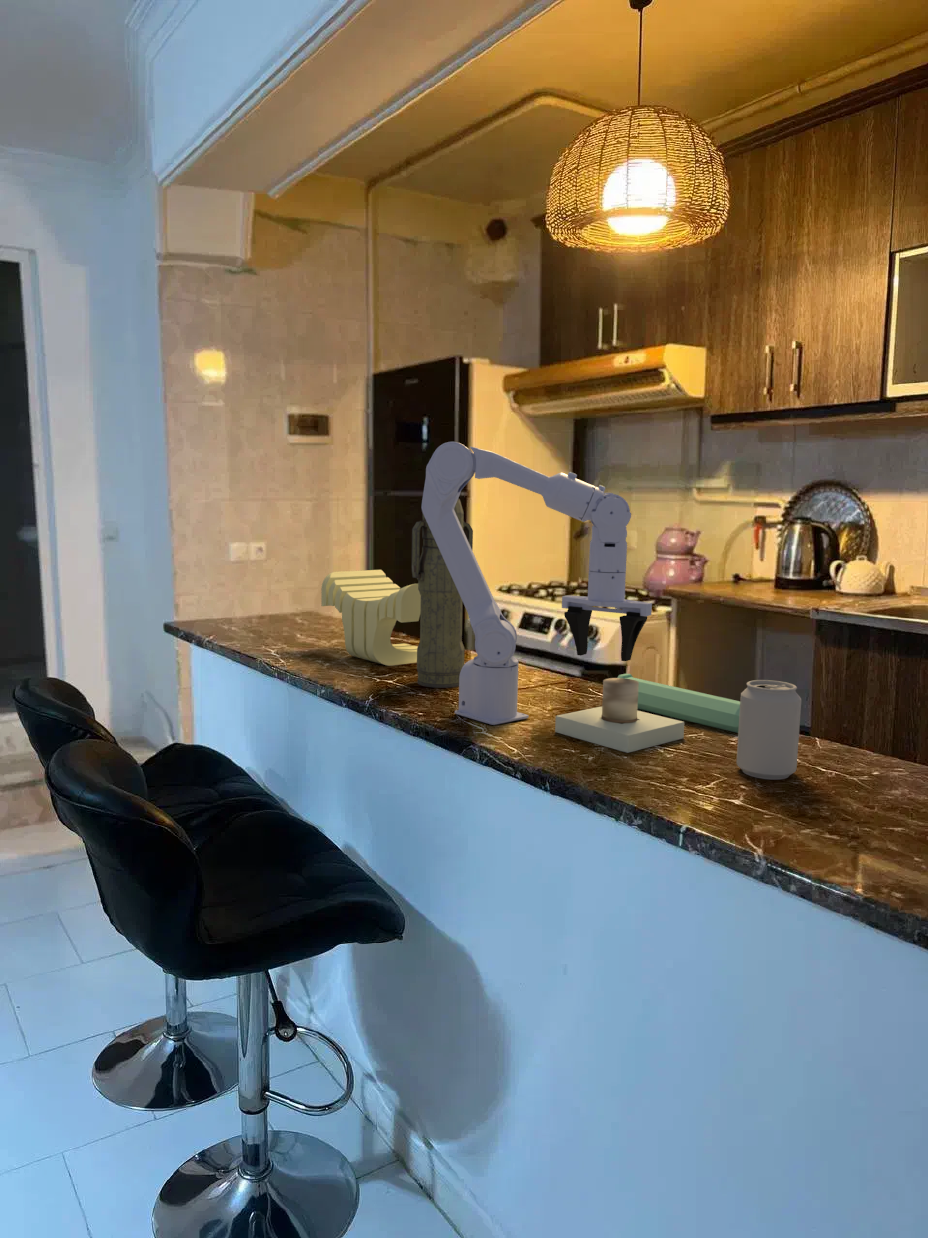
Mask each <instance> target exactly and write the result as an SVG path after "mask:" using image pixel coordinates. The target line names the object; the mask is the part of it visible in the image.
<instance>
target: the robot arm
mask: <svg viewBox="0 0 928 1238" xmlns="http://www.w3.org/2000/svg"><path fill="white" fill-rule="evenodd" d="M473 477H474V478H475V479H478V480H480V479H481V480H482V479H489V478H490V479H492V478H495V479H500V481H503V482H507V483H509V484H511V485H514V486H517V487H520V488H522V489H526V490H528V491H529V492H533V493H535V494H538V495H541V496H542V499H543V501H544V503H545V506H546V508H548V509H551V510H553V511H556V512H558V513H561V514H563V515H565V516H568V517H571V518H573V519H575V520H577V521H581V522H583V523H584V522H587V521H590V522H591V524H592V526H591V540H590V542H589V557H588V560H589V561H588V578H587V579H588V582H587V584H588V585H587V596H583V595H582V596H580V595H570V594H569V595H562V597H561V609H566V611H564V618H565V621H566V622H567V624H568V626H569V628H570V631H571V633H572V637H573V641H574V645H575V649H576V655H577V656H580V657H581V656H584V655H587V653H588V648H589V647H588V645H589V629H590V624H591V623H590V622H591V617H592V613H593V611H595V612H602V613H603V612H604V613H612V614H613V613H615V614H624V615H621V616H619V624H620V632H621V647H620V649H621V650H620V660H621V661H622V662H628V661H631V660H632V656H633V651H634V647H635V645H636V642H637V640H638V637H639V636H640V635H639V634H641V631H642V629H643V627H644V625H645V624H646V623H647V620H648V617H649V616H652V607H653V602H648V601H640V600H632V599H626V578H627V577H626V576H627V575H626V574H627V573H626V572H627V555H628V554H627V553H628V542H627V541H626V540H627V537H628V531H627V525H629V523H630V522H631V518H632V513H631V509H630V506H629V503H628V502H627V501H626V499H624V497H622V496H621V495H619V494H614V493H613V492H605V491H606V487H605V486H604V485H601V484H599V486H595V485H593V484H590V483H589V482H588V483H587V482H585V481H583V480H581V479H580V478H579V479H578V478H577V477H578V474H576V473H574V472H572V471H569V472H568V473H564V472H563V471H561V472H558V473H556V474H553V475H552V476H548V475H546V474H543V473H541V472H539V471H536V470H535V469H532V468H530V467H527V466H525V465H524V464H521V463H518V462H516V461H514V460H512V459H510V458H508V457H506V456H503V455H501V454H499V453H496V452H494V451H492V450H491V451H490V450H486V449H482V448H478V447H476V446H475V447H474V446H469V448H468V447H467V446H465V444H462V443H460V442H457V441H448V442H444V443H442V444H441V445H439V446H438V447H437V448H436V449H435V451H433V453H432V455H431V458H429V461H428V463H427V464H426V468H425V480H424V487H423V493H422V498H421V499H422V500H421V512H422V515H423V514H424V517H425V519H426V521H427V523H428V526H429V528H430V530H431V532H432V534H433V537H434V539H435V541H436V543H437V546H438V548H439V550H440V552H441V554H442V557H443V559H444V561H445V563H446V566H447V568H448V570H449V572H450V574H451V577H452V579H453V581H454V583H455V585H456V588H457V590H458V592H459V594H460V597H461V599H462V601H463V605H464V608H465V609H466V612H467V615H468V619H469V623H470V625H471V628H472V631H473V634H474V638H475V639H474V649H475V652H476V656H474V657H473V658H472V659H470V660H468V661H466V662H464V666H463V667H462V669H461V672H460V677H459V686H458V709H456V710H454V714H456V715H458V716H461V717H463V718H469V719H471V720H474V721H477V722H480V723H484V724H489V725H491V726H492V725H493V726H496V725H501V724H506V723H510V722H515V721H520V720H525V719H529V714H525V713H523V712H519V711H518V695H519V694H518V692H519V690H518V689H519V688H518V687H519V661H520V660H518V658H516V657H515V656H514V655H515V652H516V649H517V648H516V646H517V639H518V635H517V630H516V627H515V626H514V625H513V624H512V623H511V621H509V620H507V618H506V617H505V616H504V615H503V613H502V610H501V609H500V607H499V605H498V604H497V602H496V600H495V598H494V596H493V594H492V591H491V590H490V589H491V588H490V587H489V585H488V582H487V580H486V579H485V575H484V574H483V571H482V569H481V567H480V565H479V563H478V560H477V558H476V556H475V554H474V552H473V551H474V550H473V549H471V547H470V544H469V542H468V540H467V538H466V535H465V533H464V528H463V529H462V527H461V524H460V522H459V520H458V518H457V515H456V513H455V511H454V507H455V505H456V503H457V500H458V499H460V498H459V497H460V495H461V492H462V490H463V489H464V487H466V485H468V483H469V482H470V481H471V480H472V478H473Z"/></svg>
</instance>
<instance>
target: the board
mask: <svg viewBox="0 0 928 1238" xmlns="http://www.w3.org/2000/svg"><path fill="white" fill-rule="evenodd" d="M554 724H555V726H554V727H555V728H554V732H555V733H558V734H561V735H565V736H568V737H571V738H574V739H578V740H581V741H585V742H589V743H592V744H595V745H599V746H603V747H606V748H608V749H609V748H610V749H614V750H617V751H620V752H623V753H626V754H628V753H632V752H636V751H640V750H643V749H648V748H651V747H655V746H659V745H663V744H666V743H671V742H674V741H678V740H683V739H684V738H685V736H684V735H685V721H684V720H683V721H682V720H680V719H676V718H675V719H674V718H671V717H667V716H661V715H659V714H654V713H653V714H652V713H649V712H645V711H643V710H642V711H641V710H637V721H636V722H633V723H624V724H620V723H613V722H608V721H605V720H603V719H602V705H601V706H596V707H592V708H587V709H582V710H578V711H572V712H568V713H562V714H558V715H555V723H554Z"/></svg>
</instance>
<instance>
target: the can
mask: <svg viewBox="0 0 928 1238" xmlns="http://www.w3.org/2000/svg"><path fill="white" fill-rule="evenodd" d="M746 686H747V687H746V688H744V690H743V691H742V692H740V698H739V699H740V715H739V731H738V733H737V750H736V766H737V767H738V768H740V769H741V771H742V773H744V774H746V775H748V776H750V777H753V778H756V779H760V780H761V779H762V780H772V781H773V780H785V779H788V778H789V777H790V776H791V775H793V774H794V773H795V772H796V771H797V769H798V768H797V766H798V754H799V753H798V752H799V741H800V740H799V739H800V738H799V737H800V726H801V723H800V722H801V710H802V698H801V696H800V695H799V694H798V693H797V691H796V690H798V687H797V686H796V684H793V683H791V682H790V683H789V682H786V681H779V680H769V679H755V680H750V681H747V682H746Z"/></svg>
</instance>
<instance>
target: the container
mask: <svg viewBox="0 0 928 1238" xmlns="http://www.w3.org/2000/svg"><path fill="white" fill-rule="evenodd" d="M616 678H624V679H632V680H635V681H638V682H639V686H638V707H637V710H642V711H647V712H651V713H653V714H654V713H655V714H657V715H660V716H661V715H663V716H664V717H668V718H673V719H674V718H675V719H677V720H681V721H682V720H683V721H686V722H691V723H696V724H699V725H703V726H708V727H712V728H717V729H720V730H725V731H729V732H733V733H737V734H738V731H739V715H740V701H739V700H734V699H731V698H727V697H722V696H717V695H712V694H707V693H704V692H699V691H695V690H691V689H687V688H686V689H685V688H681V687H677V686H672V685H669V684H663V683H660V682H659V683H658V682H655V681H650V680H646V679H642V678H637V677H633V675H632V674H631V673H623V674H618V676H617V677H616Z"/></svg>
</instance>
